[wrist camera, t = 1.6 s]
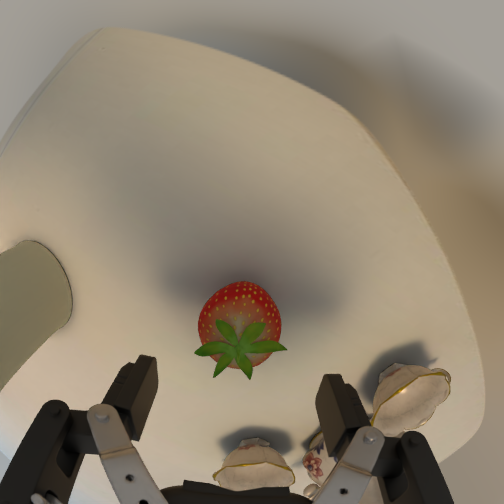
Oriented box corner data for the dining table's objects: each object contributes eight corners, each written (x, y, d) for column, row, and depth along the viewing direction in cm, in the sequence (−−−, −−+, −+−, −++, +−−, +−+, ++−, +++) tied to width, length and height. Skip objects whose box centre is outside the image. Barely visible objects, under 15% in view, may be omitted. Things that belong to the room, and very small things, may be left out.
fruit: (271, 328, 22) (281, 399, 14) (206, 323, 22) (189, 393, 14) (279, 265, 20) (297, 320, 13) (208, 260, 20) (186, 312, 12)
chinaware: (407, 308, 23) (514, 415, 7) (450, 391, 25) (509, 473, 9) (199, 438, 28) (170, 549, 12) (280, 487, 30) (281, 575, 14)
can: (77, 339, 22) (12, 420, 11) (16, 314, 22) (-49, 370, 10) (70, 250, 20) (-32, 311, 8) (6, 233, 19) (-81, 272, 8)
